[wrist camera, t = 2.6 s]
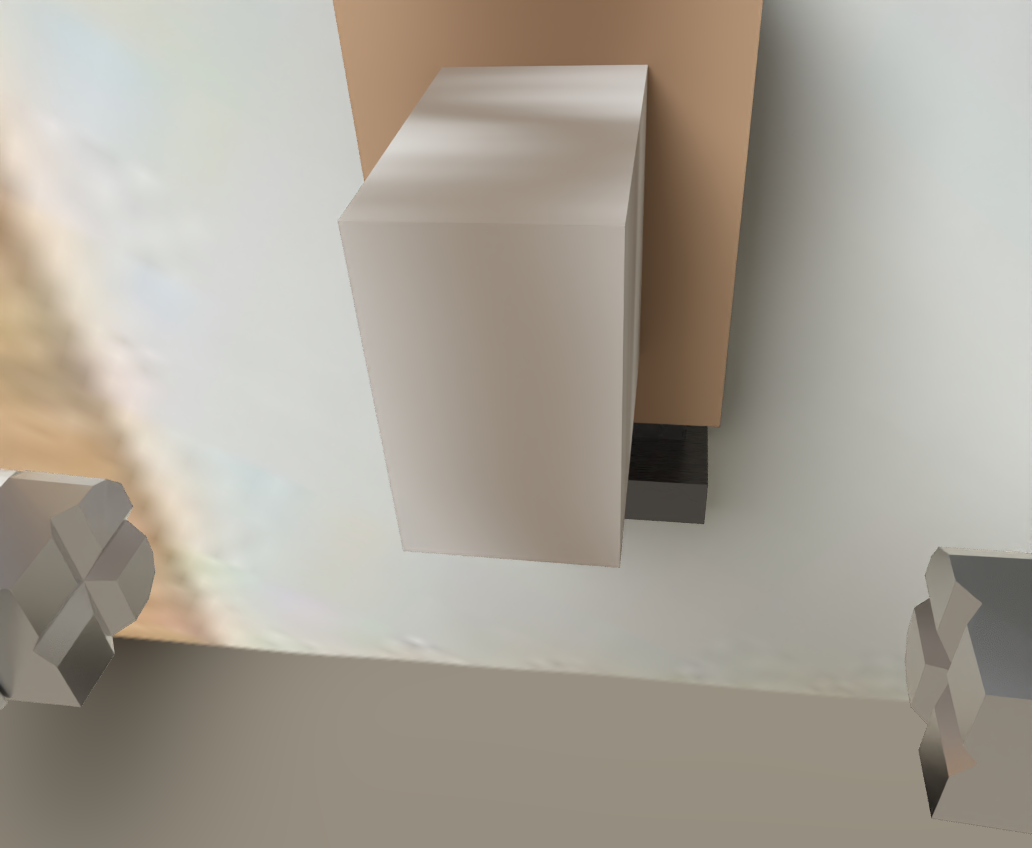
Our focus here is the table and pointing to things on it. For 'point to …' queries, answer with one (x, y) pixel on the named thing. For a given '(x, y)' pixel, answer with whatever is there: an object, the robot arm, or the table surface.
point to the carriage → (541, 251)
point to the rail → (667, 473)
